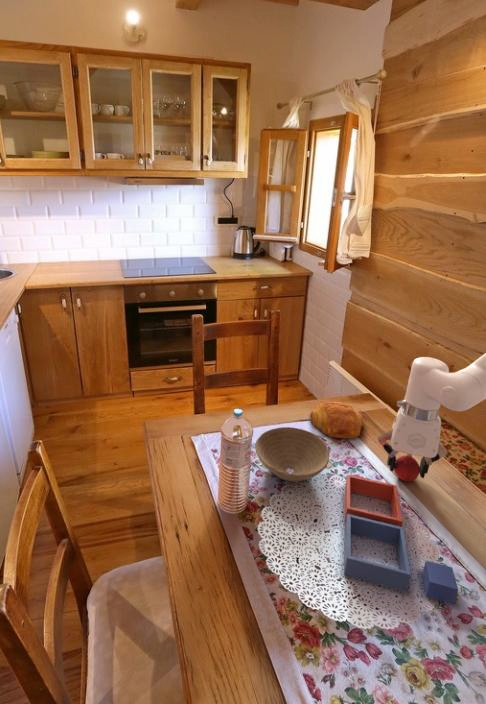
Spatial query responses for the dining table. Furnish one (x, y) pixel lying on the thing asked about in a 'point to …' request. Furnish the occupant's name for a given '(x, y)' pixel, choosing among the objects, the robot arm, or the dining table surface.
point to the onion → (407, 468)
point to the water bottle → (235, 463)
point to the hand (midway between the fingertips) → (406, 470)
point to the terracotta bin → (373, 490)
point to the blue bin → (371, 569)
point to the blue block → (439, 582)
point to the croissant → (337, 419)
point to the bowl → (292, 453)
